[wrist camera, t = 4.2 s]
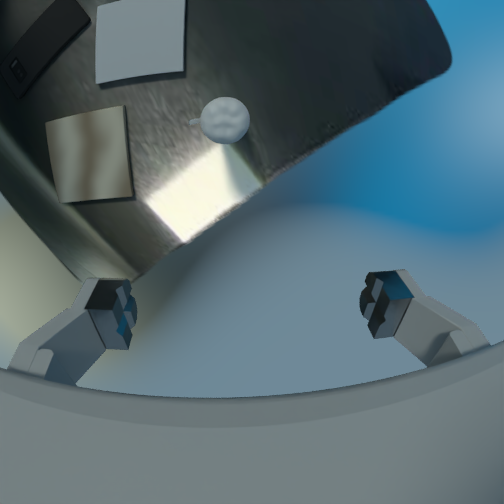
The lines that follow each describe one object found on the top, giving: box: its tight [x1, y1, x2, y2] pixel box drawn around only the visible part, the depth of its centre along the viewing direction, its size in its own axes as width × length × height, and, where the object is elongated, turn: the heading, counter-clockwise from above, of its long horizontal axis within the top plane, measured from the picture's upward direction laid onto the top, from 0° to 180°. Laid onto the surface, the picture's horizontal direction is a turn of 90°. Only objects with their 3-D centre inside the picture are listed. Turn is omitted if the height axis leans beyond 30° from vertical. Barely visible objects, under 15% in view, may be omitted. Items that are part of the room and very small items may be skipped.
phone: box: [0, 0, 91, 99], centre depth 22 cm, size 8×1×15 cm
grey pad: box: [96, 0, 186, 84], centre depth 24 cm, size 11×11×1 cm
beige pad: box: [45, 105, 134, 203], centre depth 32 cm, size 12×12×1 cm
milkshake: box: [189, 97, 250, 144], centre depth 27 cm, size 4×5×10 cm
